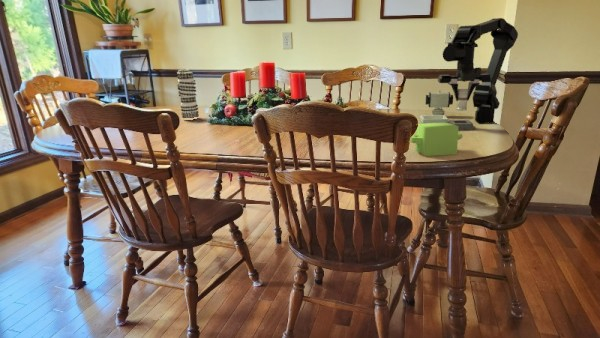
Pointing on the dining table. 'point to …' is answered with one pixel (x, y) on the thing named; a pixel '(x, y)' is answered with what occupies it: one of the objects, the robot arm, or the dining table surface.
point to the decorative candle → (187, 93)
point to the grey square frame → (462, 124)
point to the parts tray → (433, 119)
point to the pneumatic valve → (439, 101)
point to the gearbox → (436, 139)
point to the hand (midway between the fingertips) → (462, 100)
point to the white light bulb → (462, 99)
